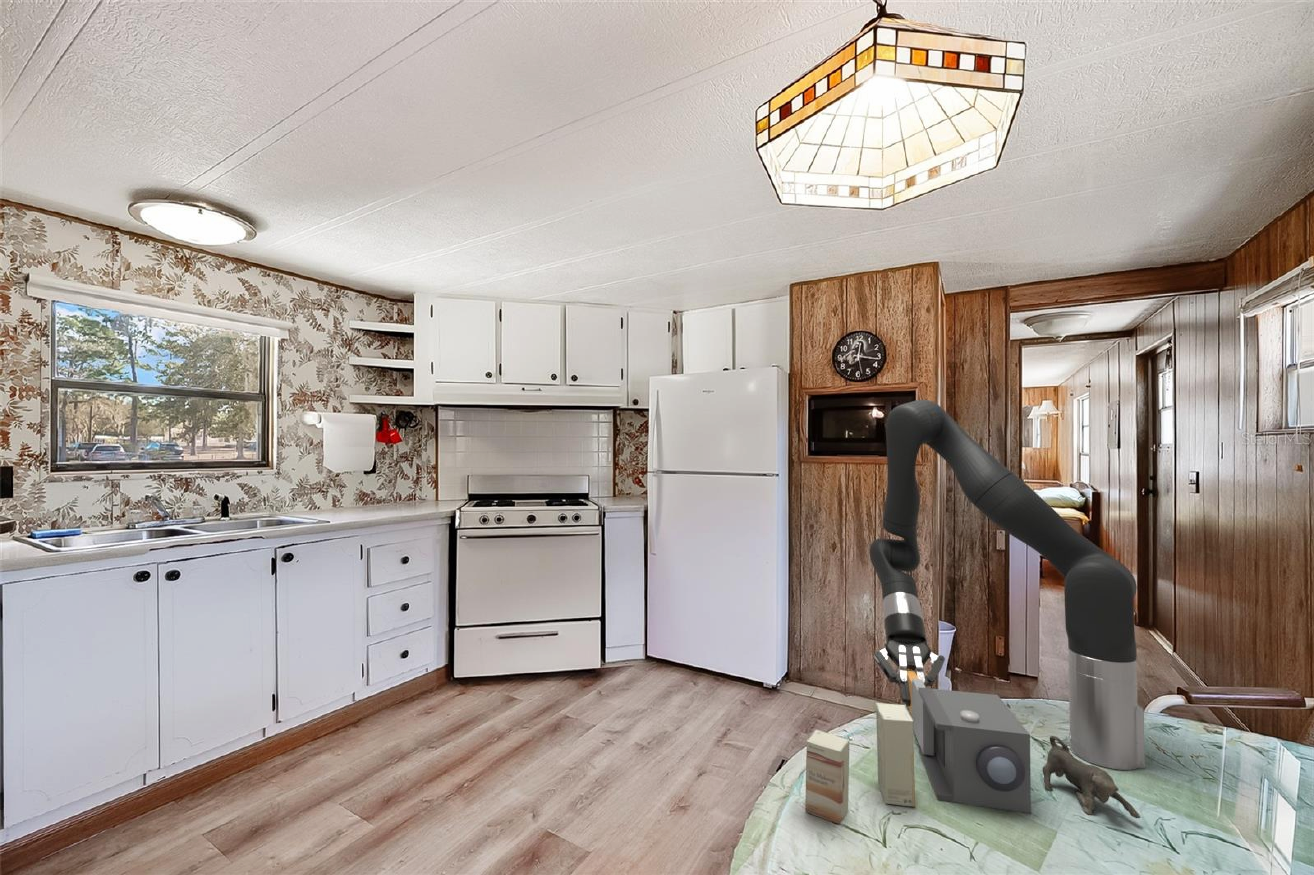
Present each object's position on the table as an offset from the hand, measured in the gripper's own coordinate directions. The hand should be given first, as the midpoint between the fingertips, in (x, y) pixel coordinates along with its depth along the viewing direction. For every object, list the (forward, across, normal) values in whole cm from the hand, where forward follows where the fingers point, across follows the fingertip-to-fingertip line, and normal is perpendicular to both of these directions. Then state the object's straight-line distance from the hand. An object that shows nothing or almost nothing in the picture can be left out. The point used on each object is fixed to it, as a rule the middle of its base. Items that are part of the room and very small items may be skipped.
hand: (915, 704), depth 107 cm
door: (+5, 0, 0) cm, 5 cm away
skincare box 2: (+20, -7, -13) cm, 25 cm away
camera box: (+15, +5, -9) cm, 18 cm away
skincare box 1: (+25, -17, -18) cm, 35 cm away
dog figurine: (+16, +20, -10) cm, 27 cm away
